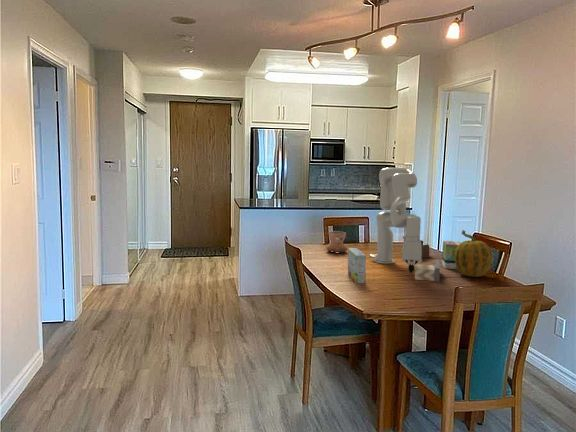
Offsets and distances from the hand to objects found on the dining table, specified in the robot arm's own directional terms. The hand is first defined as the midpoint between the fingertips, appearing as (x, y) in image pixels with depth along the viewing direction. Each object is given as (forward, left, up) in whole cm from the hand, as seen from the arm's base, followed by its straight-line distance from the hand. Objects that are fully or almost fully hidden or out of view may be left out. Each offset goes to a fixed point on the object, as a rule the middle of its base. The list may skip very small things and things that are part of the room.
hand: (411, 272), depth 258 cm
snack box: (-28, -14, -3) cm, 31 cm away
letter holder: (+1, +58, -3) cm, 58 cm away
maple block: (+7, +1, -3) cm, 8 cm away
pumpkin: (+32, +14, -3) cm, 35 cm away
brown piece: (-53, +59, -3) cm, 79 cm away
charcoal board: (+13, +5, -3) cm, 15 cm away
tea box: (+22, +36, -3) cm, 43 cm away
